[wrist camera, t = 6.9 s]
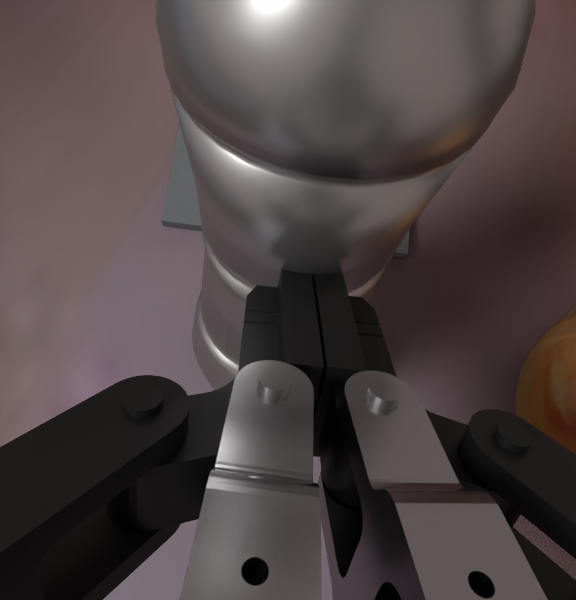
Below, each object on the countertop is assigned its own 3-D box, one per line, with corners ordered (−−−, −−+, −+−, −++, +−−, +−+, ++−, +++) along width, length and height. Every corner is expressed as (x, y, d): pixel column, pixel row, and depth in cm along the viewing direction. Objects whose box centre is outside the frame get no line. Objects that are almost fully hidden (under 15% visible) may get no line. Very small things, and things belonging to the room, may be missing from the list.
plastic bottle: (371, 391, 21) (1076, -512, 4) (229, 459, 18) (360, -1071, 1) (303, 278, 23) (529, -539, 6) (172, 325, 21) (-14, -747, 4)
